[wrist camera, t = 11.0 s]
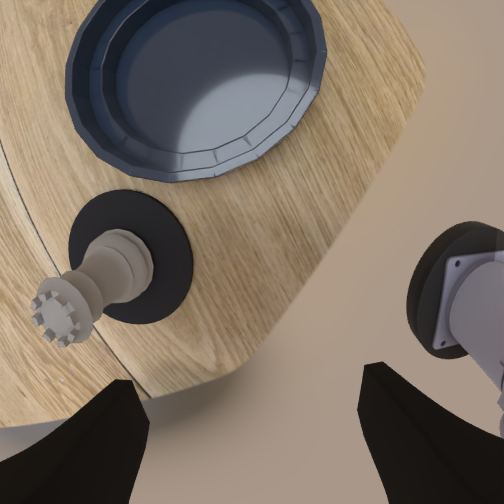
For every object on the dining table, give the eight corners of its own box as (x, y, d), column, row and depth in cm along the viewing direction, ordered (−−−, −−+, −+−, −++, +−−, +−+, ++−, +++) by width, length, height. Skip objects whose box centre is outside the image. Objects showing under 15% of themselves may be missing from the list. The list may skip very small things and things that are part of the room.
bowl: (296, -23, 13) (303, -57, 9) (323, 167, 16) (340, 168, 13) (102, 12, 13) (73, -10, 10) (107, 191, 17) (72, 200, 13)
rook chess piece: (128, 306, 19) (69, 379, 11) (83, 258, 18) (5, 310, 10) (170, 264, 18) (113, 333, 10) (120, 212, 17) (37, 248, 9)
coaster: (182, 179, 17) (180, 179, 16) (203, 320, 19) (202, 323, 19) (60, 201, 17) (57, 202, 17) (89, 321, 20) (87, 323, 20)
